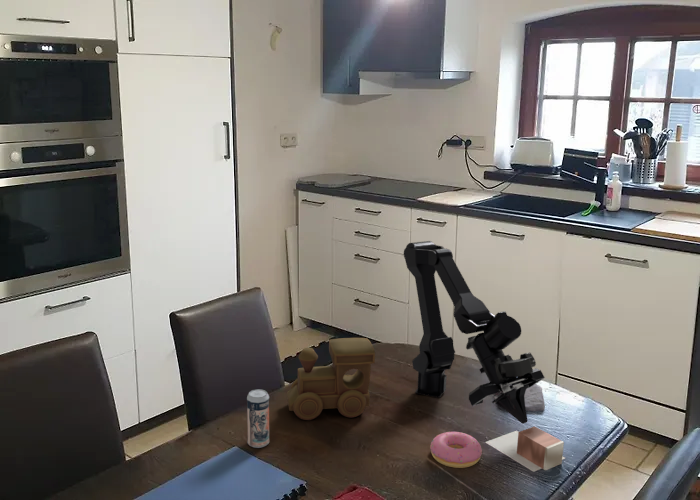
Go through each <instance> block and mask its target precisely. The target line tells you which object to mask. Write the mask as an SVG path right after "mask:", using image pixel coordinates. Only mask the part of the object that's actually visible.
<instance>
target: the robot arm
mask: <svg viewBox="0 0 700 500" xmlns="http://www.w3.org/2000/svg"><path fill="white" fill-rule="evenodd" d="M403 257H404V259H405V264H406V267H407V268H406V269H408V271H409V272H410V274H411V275H412V276H413V278H415V285H416V293H417V299H418V306H419V311H420V313H419V314H420V319H421V325H422V332H423V335H422V338H421V339H420V343H419V345H418V347H419V349H418V350H419V354H418V355H417V356H415V358H413V359H412V361H411V362H412V368H413V369H414V371H416V372H418V373H417V374H418V375H417V388H416V389H415V392H414V393H415V394H416V395H420V396H421V395H422V396H427V397H431V398H432V397H433V398H438V399H439V398H441V396H442V395H443V394H444V393H445V391H446V390H447V378H448V377H447V374H446V372H445V371H446V370H447V371H448V370H451V367H452V365H453V363H454V361H455V354H456V350H455V346H454V339H453V337H452V336H448V335H447V334H446V332H444V328H443V321H442V315H441V309H440V302H439V296H438V290H437V284H436V279H435V274H437V275H438V277H439V279H440V281H441V283H442V285H443V286H444V288H445V290H446V292H447V295H448V296H449V298H450V299H451V302H452V304H453V307H454V309H453V317H454V321H455V323H456V325H457V327H458V329H459V331H460V332H461V333H462V334H465V335H469V334H475V333H477V335H473V336H469V337H467V343H466V346H465V349H466V350H471V349H472V350H473V352H474V353H475V355H476V357H477V359H478V361H479V363H480V365H481V368H480V369H479V372H480V374H485V376H486V377H487V379H488V381H489V382H487V383H483V384H480V385H478V386H477V387H476V388H474V389H473V390H472V391H470V392H469V393H468V401H469V403H470V405H471V406H472V407H475V406H478V405H482V403H483V402H484V399H485V398H486V399H487V398H488V397H491V396H493V397H494V399H493V400H492V401H491V403H492V404H495V405H498V407H500V408H501V409H503V410H504V411H506V412H507V413H508V414H510V415H511V416H513V418H515V419H516V420H517V421H518V422H520V423H521V424H522V425H524V424H526V423H527V422H528V415H527V410H526V407H525V398H524V395H525V392H526V389H527V388H530V387H532V386H533V385H535V384H538V383H539V382H541V381H543V380H544V379H545V378H546V377H545V375H544V373H543V371H542V370H541V369H539V368H537V367H536V365H537V363H536V360H535V357H534V356H533V354H532V352H525V353H522V354H520V356H519V358H518V359H513V357H512V356H511V355H510V354H507V355H505V352H504V351H503V350H504V349H506V348H507V347H508V346H510V345H511V344H512V343H513V342H515V341H516V340H517V339H518V338H520V337H521V335H522V327H521V324H520V323H519V322H518V321H517V320H516V319H515V318H513V317H512V316H510V315H508V314H507V312H506V311H498V312H497V313H496V314H495V315H494V314H493V313H492V312H491V311H490V310H489V308H488V307H487V305H486V304H485V303H484V302H483V301H482V300H481V299H480V298H478V297H476V296H474V294H473V292H472V291H471V289H470V287H469V285H468V284H467V282H466V280H465V278H464V276H463V274H462V272H461V270H460V268H459V267H458V266H457V264H456V262H455V259H454V256H453V253H452V250H451V249H449V248H445V247H444V246H443V245H437V244H435V243H434V242H433V241H431V240H424V241H416V242H409V243H407V244H406V247H405V248H404V249H403ZM479 332H480V333H479ZM533 367H534V368H533ZM535 367H536V368H535ZM509 385H510V386H509Z"/></svg>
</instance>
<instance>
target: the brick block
mask: <svg viewBox="0 0 700 500" xmlns="http://www.w3.org/2000/svg"><path fill="white" fill-rule="evenodd" d="M564 445H565V442H564V441H563V440H561V439H559V438H558V437H555V436H553V435H551V434H550V433H548V432H546V431H544V430H543V429H541V428H539V427H537V426H532V427H529V428H525V429H523V430H521V431H518V443H517V454H519V455H520V456H522V457H524V458H526V459H527V460H529V461H531V462H532V463H534V464H536V465H537V466H539V467H541V468H542V469H541V470H544V471H548V470H551V469H553V468H555V467H556V466H557V467H558V466H560V465H562V462H563V460H562V456H563V455H564ZM563 457H564V456H563Z"/></svg>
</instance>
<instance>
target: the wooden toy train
mask: <svg viewBox="0 0 700 500" xmlns="http://www.w3.org/2000/svg"><path fill="white" fill-rule="evenodd" d="M328 352H329V356H330V358H331V363H332V366H329V365H328V366H326V365H325V366H323V365H321V366H315V364H316V363H317V361H318V359H319V355H318V354H317V353H316V351H315V350H314V348H313V347H304V348H303V349H302V350H301V352H300V353H299V355H298V357H297V358H298V360H299V362H300V364H301V366H302V367H299V368H297V378H296V379H295V380H294V381H293V382H292V384H291V386H290V389H289V390H288V391H286V398H287V399H286V400H287V405H288V410H289V412H290V411H291V412H292V411H293V412H294V414H295V416H297V417H298V418H299V419H301V420H304V421H311V420H314V419H316V418H318V417H319V416H320V415H321V413H322V411H323V410H326V409H329V410H330V409H337V410H338V412H339V413H340V415H342V416H344V417H345V418H356V417H358V416H360V415H362V414H363V413H364V411H365V410H366V407H370V398H371V397H370V395H371V394H370V391H369V389H370V383H371V370H372V369H371V368H372V367H371V365H373V364H375V361H376V352H375V348H374V345H373V344H372V342H371V341H370V340H369V339H368V338H367V337H366V338H365V337H343V338H341V337H340V338H332V339H329V340H328ZM350 370H356V371H355V372H354V373H353V374H352V375H351V374H346V373H347V372H349V371H350Z"/></svg>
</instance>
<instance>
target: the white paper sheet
mask: <svg viewBox="0 0 700 500" xmlns="http://www.w3.org/2000/svg"><path fill="white" fill-rule="evenodd" d="M518 432H519V431H518V430H514V431H512V432H508V433H506V434H503V435H501V436H498V437H496V438H492V439H490V440H487V441H485V444H487V445H489V446H490V447H491V448H494V449H495V450H497V451H499V452H500V453H502V454H504V455H505V456H507V457H508V458H510V459H512V460H513V461H515V462H517V463H518V464H520V465H522V466H523V467H525V468H527V469H528V470H530V471H532V472H533V473H534V472H536V471H539V470H543V469H542V468H541V467H539V466H537V465H536V464H534V463H532V462H531V461H529V460H527V459H526V458H524V457H522V456H520V455H519V454H517V443H518ZM565 459H566V457H564V456H562V461H563V460H565Z"/></svg>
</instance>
